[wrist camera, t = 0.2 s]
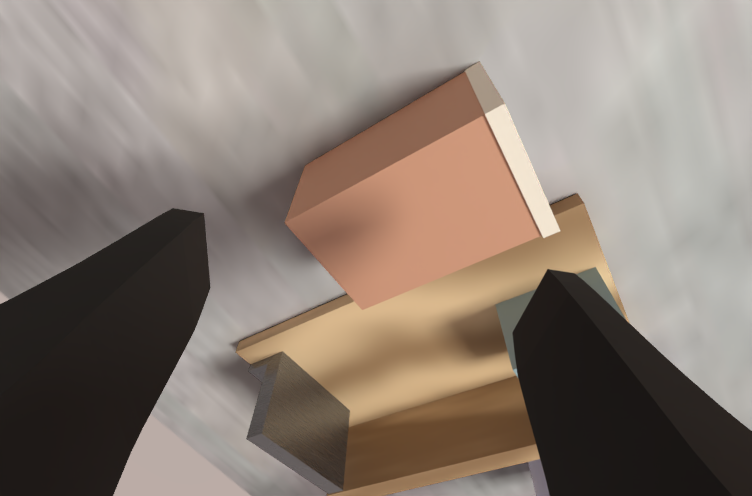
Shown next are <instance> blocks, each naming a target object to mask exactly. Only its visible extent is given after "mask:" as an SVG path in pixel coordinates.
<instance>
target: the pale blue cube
mask: <svg viewBox="0 0 752 496" xmlns="http://www.w3.org/2000/svg"><path fill="white" fill-rule="evenodd" d="M576 275H578V276H579V277H580V278H581V279H582V280H584V281H585V282H586V283H587V284H588V285H589V286H590V287H592V288H593V289H594V290H595V291H596V292H597V293H598V294H599V295H600V296H601V297H602V298H603V299H604V300H606V301H607V302H608V303H609V304H610V305H611V306H612V307H613V308H614V309H615V310H616V311H617V312H618V313H619V314H620V315H621V316H622V317H623V318H624V319H625V317H624V315H623V313H622V312H621V310H620V308H619V306H618V305H617V303H616V301H615V300H614V298H613V296H612V294H611V293H610V291H609V289H608V287H607V286H606V284H605V282H604V281H603V279H602V277H601V275H600V274H599V272H598V270H597V268H596V267H594V268H592V269H589V270H586V271H584V272H581V273H578V274H576ZM535 291H536V289H535V290H533V291H530V292H527V293H525V294H522V295H519V296H517V297H514V298H511V299H509V300H506V301H503V302H501V303H498V304H495V305H496V309H497V313H498V316H499V320H500V324H501V328H502V332H503V335H504V339H505V343H506V347H507V350H508V354H509V358H510V362H511V366H512V369H513V371H514V373H515V374H516V376H517V377H518V374H517V367H516V360H515V353H514V343H513V334H512V332H513V330H514V329H515V327H516V325H517V323H518V321H519V320H520V318H521V316H522V314H523V312H524V311H525V309H526V307H527V305H528V303H529V302H530V300H531V298H532V296H533V294H534V293H535ZM625 320H626V319H625ZM626 321H627V320H626Z"/></svg>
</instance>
